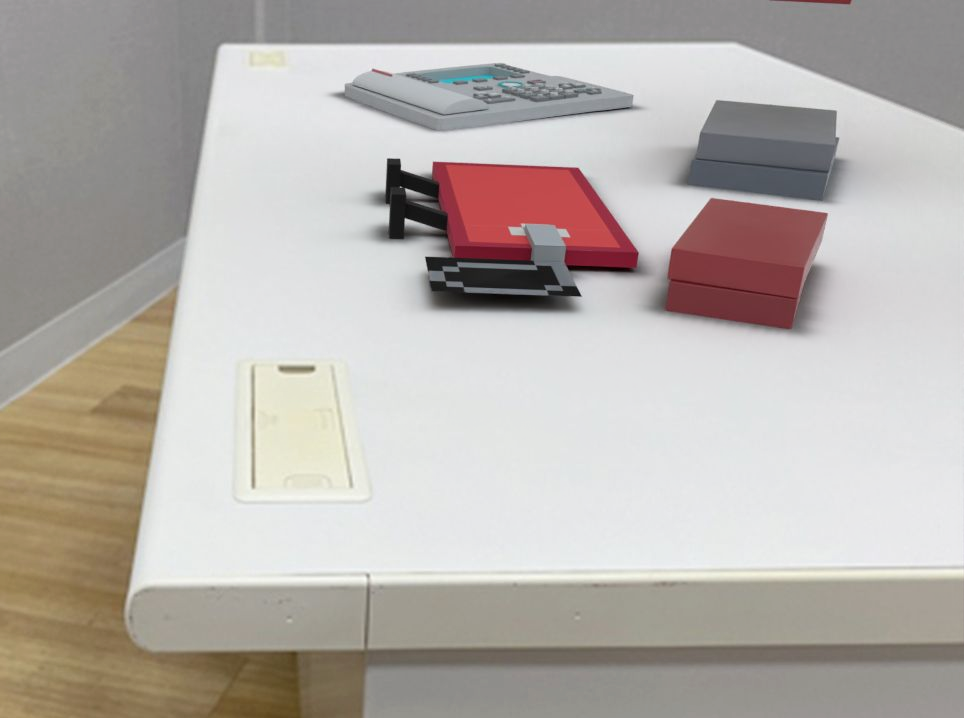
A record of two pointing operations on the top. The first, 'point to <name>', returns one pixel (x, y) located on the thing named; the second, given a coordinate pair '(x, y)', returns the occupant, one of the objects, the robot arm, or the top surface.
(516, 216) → the red board with handle
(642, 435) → the top surface
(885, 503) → the top surface
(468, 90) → the office telephone
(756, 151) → the grey books
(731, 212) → the burgundy books
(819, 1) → the burgundy book
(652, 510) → the top surface
